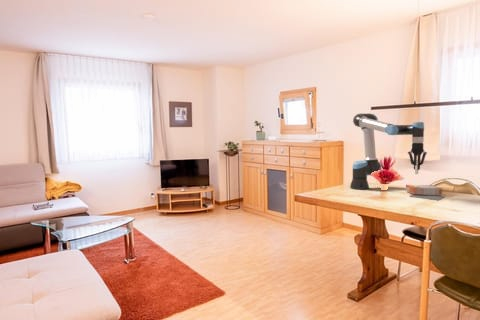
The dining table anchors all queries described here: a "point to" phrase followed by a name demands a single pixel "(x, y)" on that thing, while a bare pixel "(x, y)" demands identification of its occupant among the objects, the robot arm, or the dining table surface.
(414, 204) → the dining table surface
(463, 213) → the dining table surface
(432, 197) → the felt mat
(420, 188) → the cracker box
